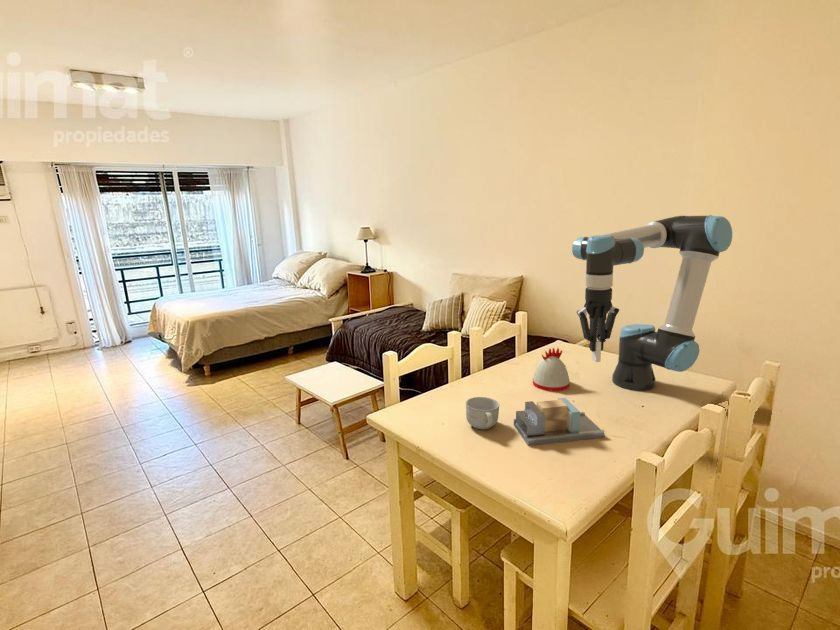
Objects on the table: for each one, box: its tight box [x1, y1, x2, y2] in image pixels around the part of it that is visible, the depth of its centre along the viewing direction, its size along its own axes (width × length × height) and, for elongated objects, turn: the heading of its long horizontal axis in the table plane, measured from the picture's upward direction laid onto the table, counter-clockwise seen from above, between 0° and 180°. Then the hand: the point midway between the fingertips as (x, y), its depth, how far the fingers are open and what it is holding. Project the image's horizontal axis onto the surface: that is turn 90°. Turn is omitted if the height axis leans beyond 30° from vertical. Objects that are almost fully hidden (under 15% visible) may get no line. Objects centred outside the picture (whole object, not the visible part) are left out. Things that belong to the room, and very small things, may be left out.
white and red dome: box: [532, 347, 570, 392], centre depth 170 cm, size 14×14×15 cm
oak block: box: [536, 399, 567, 432], centre depth 135 cm, size 8×4×8 cm, turn 97°
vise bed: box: [513, 411, 605, 447], centre depth 137 cm, size 24×13×2 cm, turn 97°
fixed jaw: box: [515, 400, 545, 438], centre depth 135 cm, size 6×10×7 cm, turn 7°
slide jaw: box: [557, 397, 581, 433], centre depth 136 cm, size 3×10×7 cm, turn 7°
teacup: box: [465, 396, 500, 430], centre depth 140 cm, size 14×11×8 cm
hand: (596, 360), depth 137 cm, fingers closed
